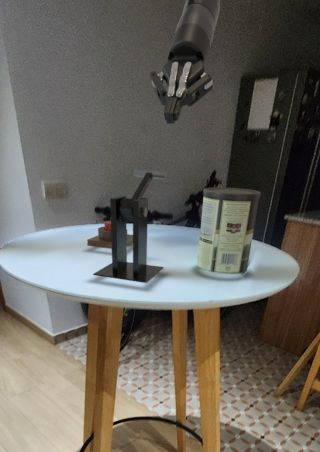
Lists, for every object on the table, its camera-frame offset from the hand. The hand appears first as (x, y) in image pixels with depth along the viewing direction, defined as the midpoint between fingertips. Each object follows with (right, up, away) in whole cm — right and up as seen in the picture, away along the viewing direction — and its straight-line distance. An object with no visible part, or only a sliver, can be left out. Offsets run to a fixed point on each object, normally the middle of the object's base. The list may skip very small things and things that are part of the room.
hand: (169, 119), depth 70 cm
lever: (-5, -18, -5) cm, 20 cm away
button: (-13, -15, +14) cm, 24 cm away
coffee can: (+10, -28, +4) cm, 30 cm away
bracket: (-8, -31, -2) cm, 32 cm away
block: (-13, -18, +16) cm, 27 cm away
